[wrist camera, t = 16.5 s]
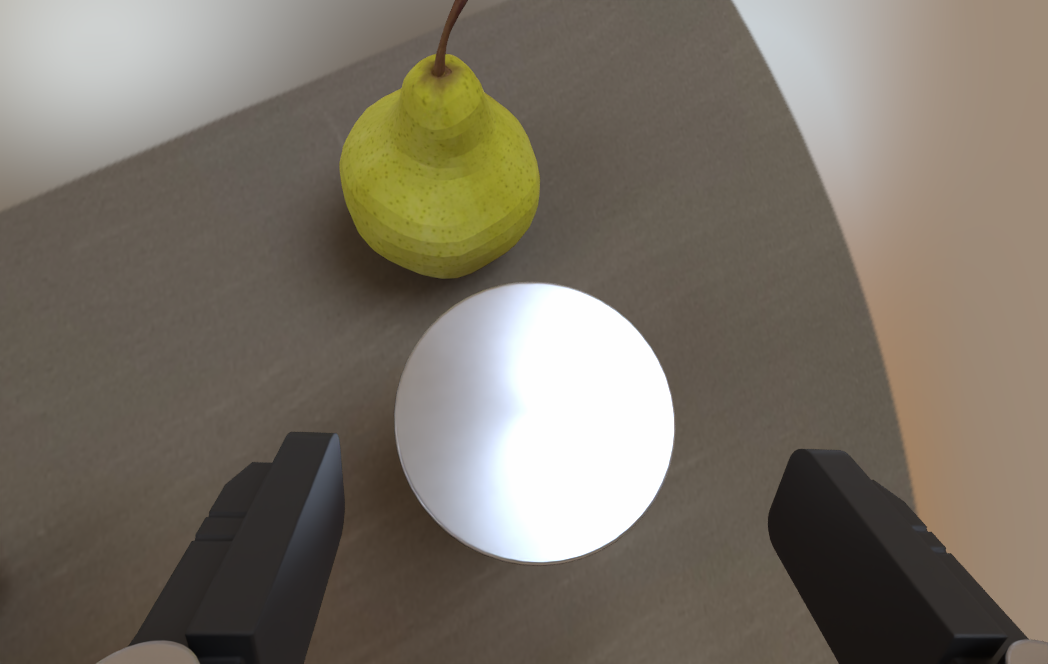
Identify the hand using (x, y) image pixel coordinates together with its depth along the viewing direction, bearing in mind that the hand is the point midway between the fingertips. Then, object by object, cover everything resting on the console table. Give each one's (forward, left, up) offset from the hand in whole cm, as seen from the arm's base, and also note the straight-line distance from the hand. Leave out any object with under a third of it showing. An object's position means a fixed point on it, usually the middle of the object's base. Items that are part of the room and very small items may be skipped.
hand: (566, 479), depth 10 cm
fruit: (+8, -8, -12) cm, 16 cm away
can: (+1, -1, -11) cm, 12 cm away
